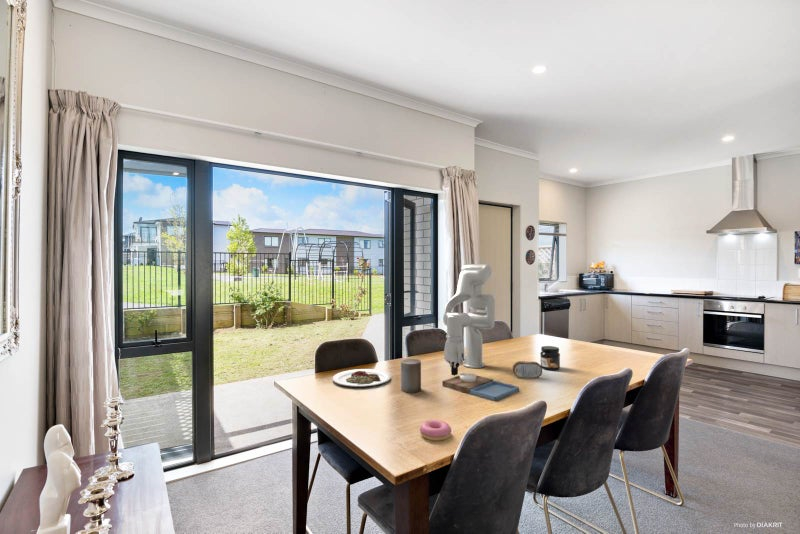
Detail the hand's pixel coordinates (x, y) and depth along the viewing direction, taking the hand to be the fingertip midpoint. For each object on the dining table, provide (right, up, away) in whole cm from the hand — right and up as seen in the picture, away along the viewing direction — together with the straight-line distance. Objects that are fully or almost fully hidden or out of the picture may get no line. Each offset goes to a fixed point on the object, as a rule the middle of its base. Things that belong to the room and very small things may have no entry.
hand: (454, 374), depth 198 cm
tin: (+39, -4, +7) cm, 40 cm away
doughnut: (-15, -4, -62) cm, 64 cm away
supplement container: (+58, -3, +24) cm, 63 cm away
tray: (+16, -4, -17) cm, 24 cm away
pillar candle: (-23, -4, -12) cm, 26 cm away
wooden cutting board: (+6, -4, -6) cm, 9 cm away
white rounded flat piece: (+6, 0, -6) cm, 8 cm away
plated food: (-48, -4, +4) cm, 48 cm away
